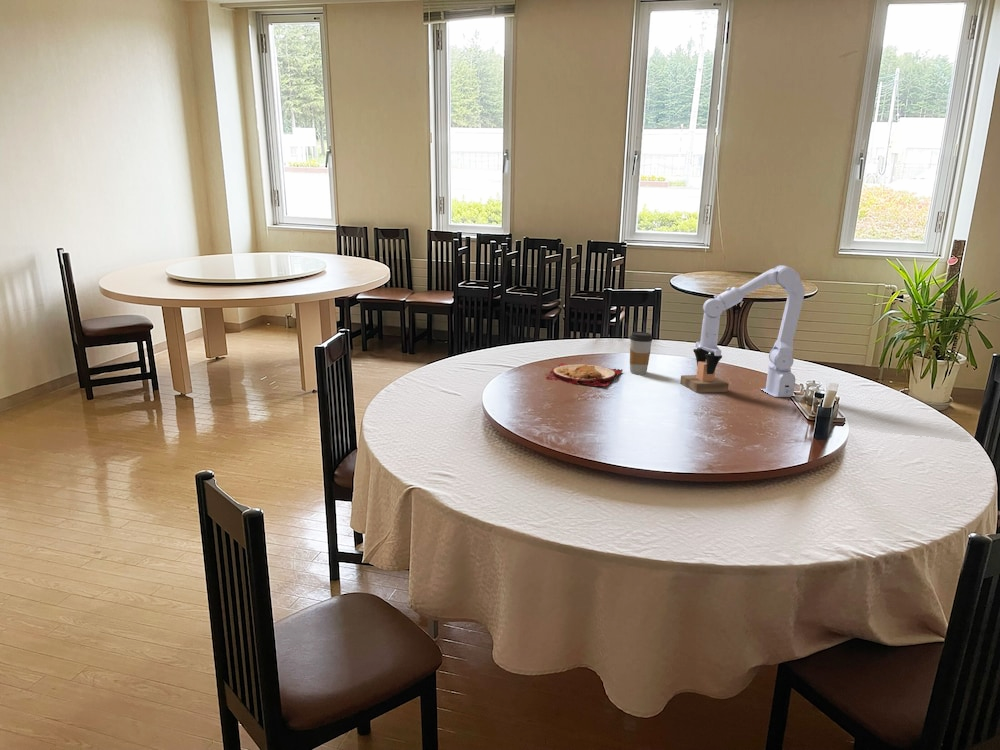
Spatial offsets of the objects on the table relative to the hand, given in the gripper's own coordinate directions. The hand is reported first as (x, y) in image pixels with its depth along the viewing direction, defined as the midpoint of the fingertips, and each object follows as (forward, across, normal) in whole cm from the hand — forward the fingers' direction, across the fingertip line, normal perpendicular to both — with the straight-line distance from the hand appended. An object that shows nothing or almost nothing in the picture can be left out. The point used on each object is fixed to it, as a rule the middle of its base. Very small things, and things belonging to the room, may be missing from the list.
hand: (705, 371), depth 249 cm
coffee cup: (+6, -23, -15) cm, 28 cm away
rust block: (+3, 0, 0) cm, 3 cm away
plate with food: (+7, -19, -39) cm, 44 cm away
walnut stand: (+6, 0, 0) cm, 6 cm away
